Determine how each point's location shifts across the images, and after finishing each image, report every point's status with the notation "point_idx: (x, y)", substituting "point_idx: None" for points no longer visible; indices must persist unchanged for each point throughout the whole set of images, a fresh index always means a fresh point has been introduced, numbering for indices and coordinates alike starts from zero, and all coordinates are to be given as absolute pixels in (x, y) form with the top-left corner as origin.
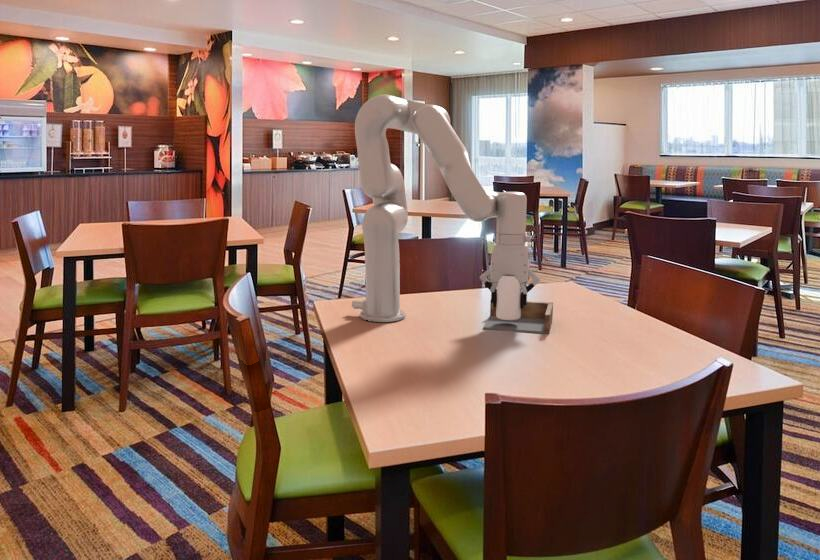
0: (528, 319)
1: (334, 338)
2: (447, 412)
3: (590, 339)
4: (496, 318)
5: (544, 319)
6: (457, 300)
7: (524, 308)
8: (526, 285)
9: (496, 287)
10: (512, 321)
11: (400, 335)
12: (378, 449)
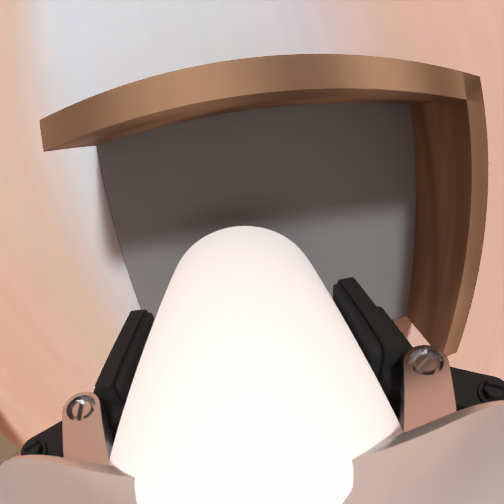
0: (324, 135)
1: (10, 439)
2: None
3: (497, 300)
4: (146, 190)
5: (397, 109)
6: None
7: (306, 96)
8: (450, 403)
9: (105, 422)
10: (250, 214)
11: (47, 428)
12: None
